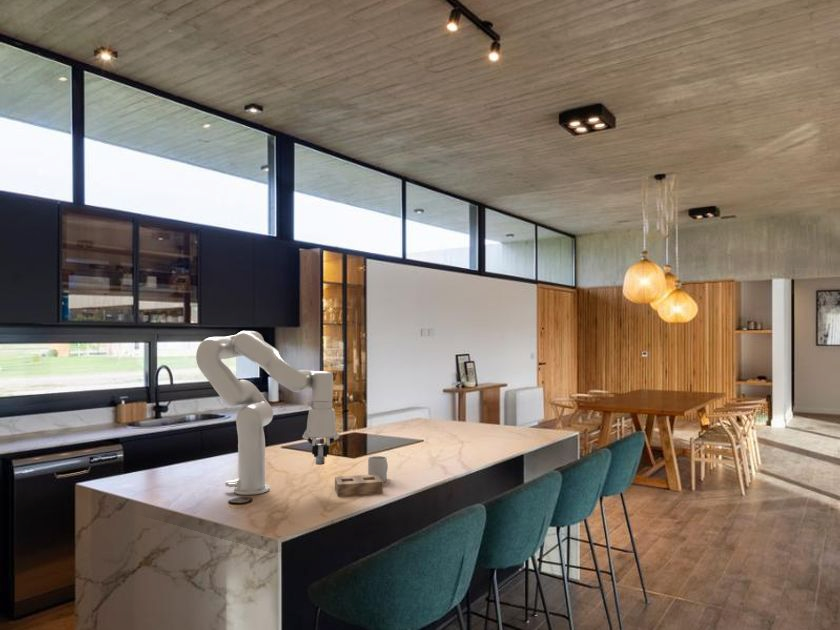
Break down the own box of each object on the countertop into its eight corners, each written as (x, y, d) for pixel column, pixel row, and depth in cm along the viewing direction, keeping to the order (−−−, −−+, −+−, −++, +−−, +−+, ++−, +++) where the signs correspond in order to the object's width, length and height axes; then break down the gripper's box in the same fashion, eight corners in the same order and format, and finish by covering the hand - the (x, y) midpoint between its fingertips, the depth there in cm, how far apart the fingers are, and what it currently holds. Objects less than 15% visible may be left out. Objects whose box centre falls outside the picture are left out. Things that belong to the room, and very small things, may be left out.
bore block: (338, 495, 217) (337, 484, 218) (334, 487, 229) (334, 476, 229) (382, 492, 221) (382, 481, 221) (377, 484, 233) (377, 474, 233)
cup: (364, 482, 238) (364, 458, 238) (379, 476, 246) (379, 454, 246) (379, 484, 234) (379, 460, 234) (394, 478, 242) (394, 456, 243)
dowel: (315, 464, 221) (316, 445, 221) (315, 462, 224) (316, 443, 224) (324, 464, 221) (325, 445, 222) (324, 462, 224) (324, 443, 225)
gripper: (299, 406, 218) (297, 459, 217) (345, 406, 221) (344, 458, 221) (298, 404, 225) (296, 454, 224) (343, 404, 229) (341, 453, 228)
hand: (320, 455), depth 223 cm, fingers closed on dowel, 3 cm apart
